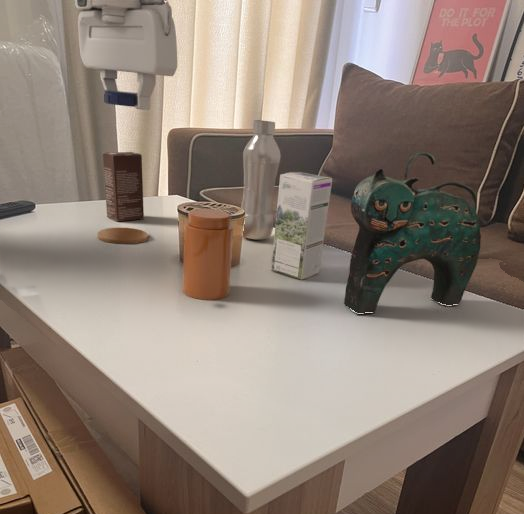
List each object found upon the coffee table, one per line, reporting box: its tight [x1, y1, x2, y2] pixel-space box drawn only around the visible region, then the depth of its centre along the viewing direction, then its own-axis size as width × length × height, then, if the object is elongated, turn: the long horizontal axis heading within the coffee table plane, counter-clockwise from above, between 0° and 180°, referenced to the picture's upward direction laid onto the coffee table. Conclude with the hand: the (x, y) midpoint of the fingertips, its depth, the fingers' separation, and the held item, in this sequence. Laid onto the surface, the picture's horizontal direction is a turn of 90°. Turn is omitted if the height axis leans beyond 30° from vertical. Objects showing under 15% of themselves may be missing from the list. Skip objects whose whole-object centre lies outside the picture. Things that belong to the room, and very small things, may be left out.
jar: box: [182, 208, 234, 301], centre depth 68 cm, size 6×6×10 cm
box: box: [102, 151, 145, 222], centre depth 99 cm, size 6×4×12 cm
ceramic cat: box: [343, 151, 482, 313], centre depth 68 cm, size 20×6×20 cm, turn 112°
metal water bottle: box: [240, 119, 282, 241], centre depth 92 cm, size 6×7×20 cm
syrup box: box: [270, 171, 333, 280], centre depth 78 cm, size 6×6×14 cm
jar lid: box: [103, 89, 138, 108], centre depth 78 cm, size 6×6×2 cm
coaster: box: [97, 227, 149, 245], centre depth 90 cm, size 8×8×1 cm
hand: (127, 106), depth 78 cm, fingers closed on jar lid, 6 cm apart
